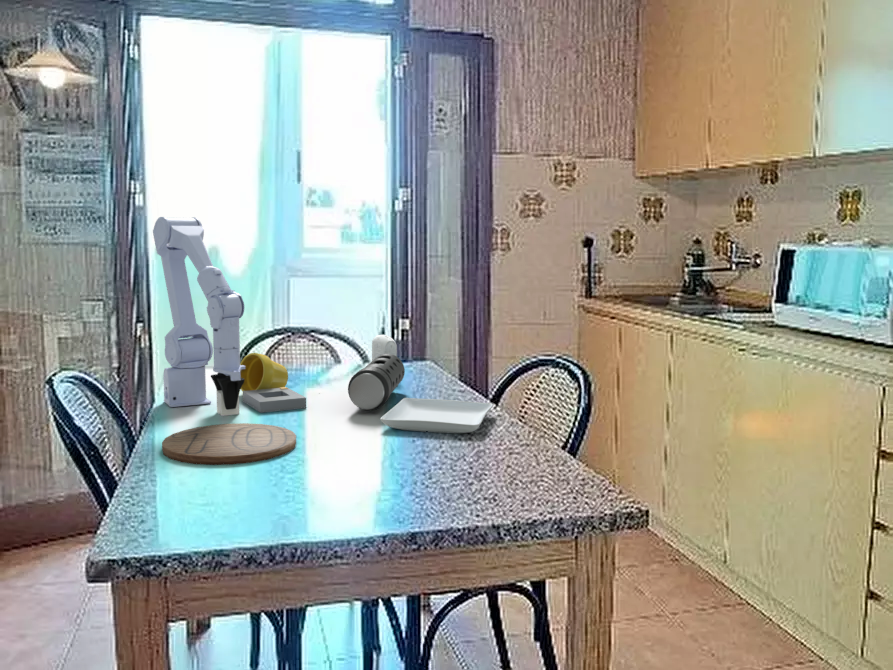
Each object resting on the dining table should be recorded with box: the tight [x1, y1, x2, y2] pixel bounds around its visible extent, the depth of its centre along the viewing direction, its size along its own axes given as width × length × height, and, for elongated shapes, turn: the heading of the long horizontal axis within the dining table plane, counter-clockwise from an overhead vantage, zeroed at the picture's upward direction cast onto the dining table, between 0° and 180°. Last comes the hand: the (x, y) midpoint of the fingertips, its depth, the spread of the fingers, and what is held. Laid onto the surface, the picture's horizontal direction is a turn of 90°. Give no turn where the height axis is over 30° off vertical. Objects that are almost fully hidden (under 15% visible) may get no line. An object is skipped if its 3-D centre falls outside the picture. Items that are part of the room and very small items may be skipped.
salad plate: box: [380, 397, 494, 434], centre depth 180 cm, size 21×21×3 cm
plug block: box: [216, 390, 240, 417], centre depth 187 cm, size 4×4×5 cm
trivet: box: [161, 422, 297, 466], centre depth 159 cm, size 25×25×2 cm
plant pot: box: [240, 352, 289, 392], centre depth 209 cm, size 10×10×10 cm
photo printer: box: [371, 334, 398, 365], centre depth 231 cm, size 10×4×12 cm, turn 28°
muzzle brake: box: [347, 354, 406, 411], centre depth 199 cm, size 10×28×10 cm, turn 174°
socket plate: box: [242, 386, 307, 414], centre depth 196 cm, size 11×14×3 cm
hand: (228, 407), depth 187 cm, fingers closed on plug block, 4 cm apart
